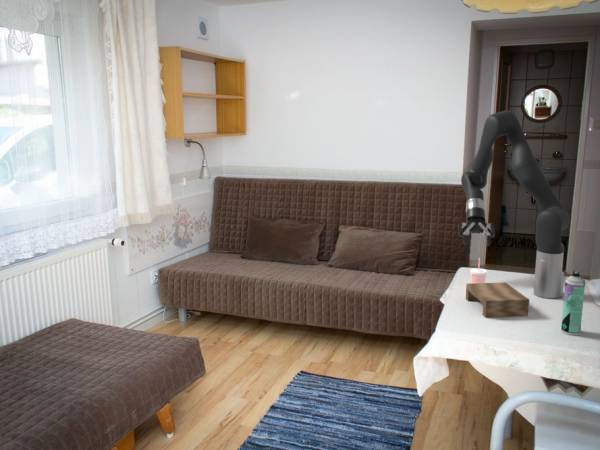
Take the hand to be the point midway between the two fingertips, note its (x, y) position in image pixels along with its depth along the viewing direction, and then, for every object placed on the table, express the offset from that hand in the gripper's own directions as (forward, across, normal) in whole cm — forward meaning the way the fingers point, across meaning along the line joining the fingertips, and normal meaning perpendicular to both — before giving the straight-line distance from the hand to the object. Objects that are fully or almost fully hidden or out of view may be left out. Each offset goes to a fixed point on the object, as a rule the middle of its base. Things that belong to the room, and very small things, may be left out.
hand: (476, 244), depth 221 cm
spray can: (+44, +25, -20) cm, 54 cm away
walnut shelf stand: (+30, +5, -7) cm, 31 cm away
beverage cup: (+19, 0, +4) cm, 20 cm away
